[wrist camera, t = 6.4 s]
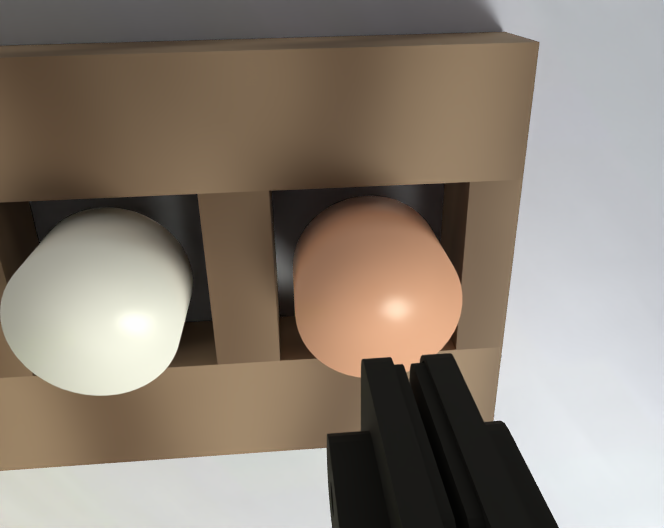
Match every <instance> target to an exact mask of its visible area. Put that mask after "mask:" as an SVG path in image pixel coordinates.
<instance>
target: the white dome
mask: <svg viewBox="0 0 664 528" xmlns="http://www.w3.org/2000/svg"><path fill="white" fill-rule="evenodd" d="M192 290H193V274H192V269H191V265H190V262H189V259H188V257H187V255H186V253H185V251H184V249H183V247H182V246H181V245H180V243H179V242H178V240H177V239H176V238H175V237H174V236H173V235H172V234H171V233H170V232H169V231H168V230H167V229H166V228H164V227H163V226H162V225H160V224H159V223H157V222H156V221H154V220H152V219H151V218H149V217H147V216H145V215H142V214H139V213H137V212H134V211H130V210H126V209H120V208H109V207H102V208H92V209H88V210H84V211H80V212H78V213H75V214H73V215H71V216H69V217H67V218H65V219H64V220H62V221H61V222H60V223H58V224H57V225H56V226H55V227H54V228H53V229H52V230H51V231H50V232H49V233H48V234H47V236H46V237H45V238H44V239H43V240H42V241H41V243H40V244H39V245H38V246H37V247H36V249H35V250H34V251H33V252H32V253H31V254H30V256H29V257H28V258H27V259H26V260H25V262H24V263H23V264H22V265H21V266H20V267H19V269H18V270H17V271H16V272H15V273H14V275H13V276H12V278H11V279H10V280H9V282H8V284H7V286H6V288H5V290H4V292H3V296H2V299H1V306H0V320H1V325H2V330H3V333H4V335H5V338H6V341H7V342H8V344H9V346H10V348H11V350H12V351H13V352H14V354H15V355H16V357H17V358H18V359H19V360H20V361H21V362H22V363H23V364H24V365H25V366H26V367H27V368H28V369H29V370H30V371H31V372H33V373H34V374H35V375H37V376H38V377H40V378H41V379H43V380H45V381H46V382H48V383H50V384H52V385H54V386H57V387H59V388H61V389H64V390H68V391H71V392H74V393H79V394H85V395H95V396H108V395H116V394H122V393H126V392H130V391H133V390H135V389H138V388H140V387H142V386H144V385H146V384H148V383H150V382H151V381H153V380H154V379H156V378H157V377H158V376H159V375H160V374H161V373H163V372H164V370H165V369H166V368H167V367H168V366H169V364H170V363H171V361H172V360H173V358H174V356H175V354H176V352H177V349H178V346H179V342H180V338H181V334H182V330H183V326H184V322H185V318H186V315H187V311H188V307H189V303H190V299H191V295H192Z"/></svg>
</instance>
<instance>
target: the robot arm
mask: <svg viewBox="0 0 664 528" xmlns="http://www.w3.org/2000/svg"><path fill="white" fill-rule="evenodd" d="M327 470H328V487H329V501H330V511H331V521H332V528H559V527H558V525H557V523H556V521H555V519H554V517H553V515H552V513H551V512H550V510H549V508H548V506H547V504H546V502H545V500H544V498H543V496H542V494H541V492H540V490H539V488H538V486H537V484H536V482H535V480H534V478H533V476H532V474H531V472H530V470H529V468H528V466H527V465H526V463H525V461H524V459H523V457H522V455H521V453H520V451H519V449H518V447H517V445H516V443H515V441H514V439H513V437H512V435H511V433H510V431H509V429H508V428H507V426H506V425H505V423H503V422H502V421H490V422H484V420H483V418H482V416H481V414H480V412H479V410H478V408H477V405H476V403H475V401H474V399H473V397H472V395H471V392H470V390H469V388H468V386H467V384H466V382H465V380H464V377H463V375H462V373H461V371H460V369H459V367H458V365H457V362H456V360H455V358H454V356H453V355H452V354H451V353H443V354H428V355H422V356H421V358H420V363H412V364H411V366H410V377H409V379H408V376H407V373H406V370H405V367H404V365H403V364H395V365H394V363H393V360H392V358H391V357H383V358H368V359H362V360H361V431H356V432H343V433H330V434H327Z"/></svg>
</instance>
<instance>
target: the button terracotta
mask: <svg viewBox="0 0 664 528" xmlns="http://www.w3.org/2000/svg"><path fill="white" fill-rule="evenodd" d="M293 285H294V303H295V317H296V324H297V328H298V331H299V334H300V336H301V338H302V340H303V342H304V344H305V345H306V347H307V348H308V350H309V351H310V352H311V353H312V354H313V355H314V356H315V357H316V358H317V359H318V360H319V361H321V362H322V363H323V364H325V365H326V366H328V367H329V368H331V369H333V370H336V371H338V372H340V373H343V374H346V375H350V376H354V377H360V378H361V360H362V359H368V358H383V357H391V358H392V360H393V363H394V365H395V364H403V365H404V367H405V370H406V372H408V371H410V366H411V364H412V363H420V358H421V356H422V355H428V354H437V353H438V352H439V351H440V350H441V349H442V348H443V347H444V345H445V344H446V343H447V342H448V341H449V339H450V337H451V336H452V334H453V333H454V331H455V329H456V326H457V324H458V321H459V318H460V315H461V310H462V288H461V283H460V280H459V277H458V275H457V272H456V270H455V268H454V266H453V265H452V263H451V261H450V260H449V258H448V256H447V255H446V253H445V251H444V249H443V248H442V246H441V244H440V243H439V241H438V239H437V238H436V236H435V234H434V232H433V231H432V229H431V227H430V226H429V224H428V223H427V222H426V220H425V219H424V218H423V217H422V216H421V215H420V214H419V213H418V212H417V211H415V210H414V209H413V208H411V207H410V206H408V205H406V204H404V203H402V202H400V201H398V200H395V199H391V198H388V197H382V196H359V197H353V198H349V199H346V200H343V201H340V202H337V203H335V204H333V205H332V206H330V207H328V208H326V209H325V210H323V211H322V212H321V213H319V214H318V215H317V216H316V217H315V218H314V219H313V220H312V221H311V222H310V223H309V224H308V225H307V227H306V228H305V229H304V231H303V233H302V234H301V236H300V238H299V240H298V242H297V245H296V248H295V251H294V257H293Z"/></svg>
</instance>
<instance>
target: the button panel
mask: <svg viewBox="0 0 664 528" xmlns="http://www.w3.org/2000/svg"><path fill="white" fill-rule="evenodd" d="M538 50H539V42H537V41H534V40H531V39H527V38H524V37H520V36H517V35H514V34H510V33H507V32H479V33H443V34H407V35H370V36H334V37H298V38H262V39H226V40H190V41H153V42H117V43H81V44H45V45H9V46H0V306H1V299H2V296H3V292H4V290H5V288H6V286H7V284H8V282H9V280H10V279H11V278H12V276H13V275H14V273H15V272H16V271H17V270H18V269H19V267H20V266H21V265H22V264H23V263H24V262H25V260H26V259H27V258H28V257H29V256H30V254H31V253H32V252H33V251H34V250H35V249H36V247H37V246H38V245H39V241H38V237H37V233H36V229H35V225H34V221H33V216H32V212H31V208H30V204H29V201H46V200H68V199H91V198H114V197H137V196H160V195H183V194H197V195H198V204H199V212H200V220H201V229H202V237H203V246H204V254H205V262H206V271H207V279H208V287H209V296H210V304H211V313H212V321H198V322H184V326H183V330H182V334H181V338H180V342H179V346H178V349H177V352H176V354H175V356H174V358H173V360H172V361H171V363H170V364H169V366H168V367H167V368H166V369H165V370H164V372H163V373H161V374H160V375H159V376H158V377H157V378H156V379H154V380H153V381H151V382H150V383H148V384H146V385H144V386H142V387H140V388H138V389H135V390H133V391H130V392H126V393H122V394H116V395H108V396H95V395H85V394H79V393H74V392H71V391H68V390H64V389H61V388H59V387H57V386H54V385H52V384H50V383H48V382H46V381H45V380H43V379H41V378H40V377H38V376H37V375H35V374H34V373H33V372H31V371H30V370H29V369H28V368H27V367H26V366H25V365H24V364H23V363H22V362H21V361H20V360H19V359H18V358H17V357H16V355H15V354H14V352H13V351H12V350H11V348H10V346H9V344H8V342H7V341H6V338H5V335H4V333H3V330H2V325H1V320H0V471H5V470H19V469H33V468H47V467H61V466H75V465H89V464H103V463H117V462H131V461H145V460H159V459H173V458H188V457H202V456H216V455H230V454H244V453H258V452H272V451H286V450H300V449H314V448H327V434H330V433H343V432H356V431H361V378H360V377H354V376H350V375H346V374H343V373H340V372H338V371H336V370H333V369H331V368H329V367H328V366H326V365H325V364H323V363H322V362H321V361H319V360H318V359H317V358H316V357H315V356H314V355H313V354H312V353H311V352H310V351H309V350H308V348H307V347H306V345H305V344H304V342H303V340H302V338H301V336H300V334H299V331H298V328H297V324H296V317H295V316H286V317H280V314H279V298H278V283H277V267H276V251H275V235H274V220H273V204H272V191H275V190H298V189H320V188H343V187H366V186H389V185H412V184H435V183H444V197H443V213H442V228H441V246H442V248H443V249H444V251H445V253H446V255H447V256H448V258H449V260H450V261H451V263H452V265H453V266H454V268H455V270H456V272H457V275H458V277H459V280H460V283H461V288H462V310H461V315H460V318H459V321H458V324H457V326H456V329H455V331H454V333H453V334H452V336H451V337H450V339H449V341H448V342H447V343H446V344H445V345H444V347H443V348H442V349H441V350H440V351H439V352H438V353H437V354H443V353H451V354H452V355H453V356H454V358H455V360H456V362H457V365H458V367H459V369H460V371H461V373H462V375H463V377H464V380H465V382H466V384H467V386H468V388H469V390H470V392H471V395H472V397H473V399H474V401H475V403H476V405H477V408H478V410H479V412H480V414H481V416H482V418H483V420H484V422H490V421H493V419H494V411H495V402H496V394H497V386H498V378H499V369H500V361H501V353H502V345H503V337H504V328H505V320H506V312H507V304H508V296H509V287H510V279H511V271H512V263H513V255H514V246H515V238H516V230H517V222H518V214H519V205H520V197H521V189H522V181H523V173H524V164H525V156H526V148H527V140H528V132H529V123H530V115H531V107H532V99H533V91H534V82H535V74H536V66H537V58H538ZM406 373H407V376H408V379H409V377H410V371H408V372H406Z"/></svg>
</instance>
